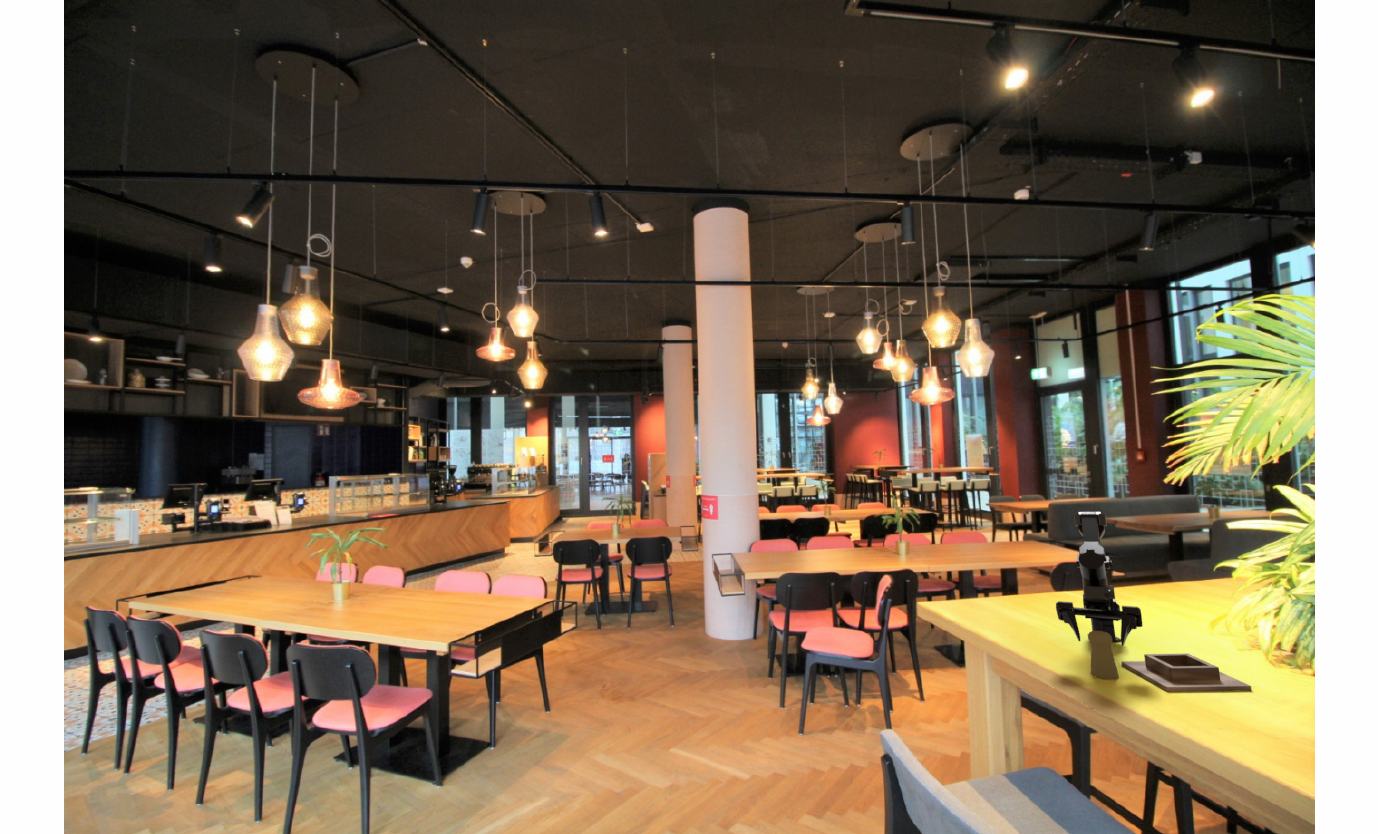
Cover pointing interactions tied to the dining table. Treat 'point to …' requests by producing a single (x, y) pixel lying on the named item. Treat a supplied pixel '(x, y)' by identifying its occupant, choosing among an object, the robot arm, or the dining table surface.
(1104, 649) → the cork
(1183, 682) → the holder board
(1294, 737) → the dining table surface
